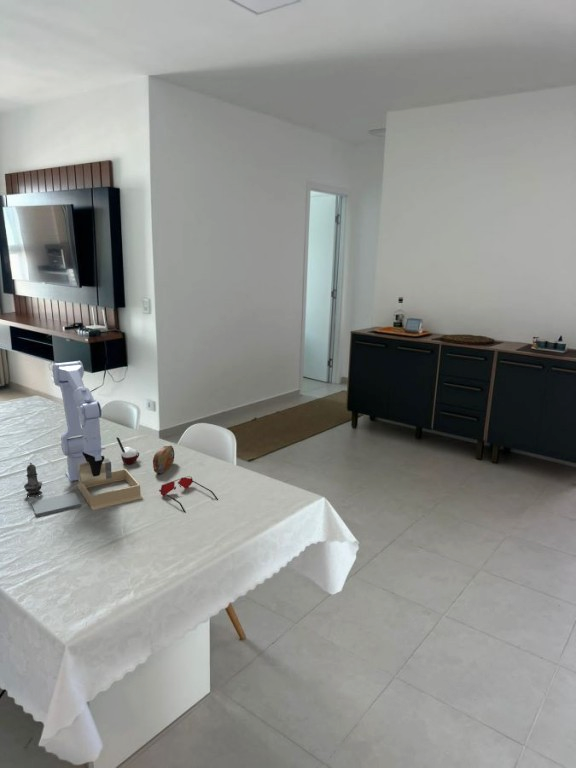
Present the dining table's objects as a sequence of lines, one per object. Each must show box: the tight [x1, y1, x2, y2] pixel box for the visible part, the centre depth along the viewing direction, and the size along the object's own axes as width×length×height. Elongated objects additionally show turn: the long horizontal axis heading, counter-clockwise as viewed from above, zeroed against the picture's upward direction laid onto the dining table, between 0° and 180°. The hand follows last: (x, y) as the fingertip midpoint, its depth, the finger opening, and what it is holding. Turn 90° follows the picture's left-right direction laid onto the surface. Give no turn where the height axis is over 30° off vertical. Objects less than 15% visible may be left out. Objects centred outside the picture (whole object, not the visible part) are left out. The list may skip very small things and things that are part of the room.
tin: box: [152, 445, 175, 474], centre depth 209 cm, size 15×3×8 cm, turn 168°
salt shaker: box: [23, 462, 43, 498], centre depth 185 cm, size 6×6×12 cm
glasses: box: [158, 475, 219, 514], centre depth 185 cm, size 14×16×5 cm
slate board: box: [30, 492, 82, 517], centre depth 179 cm, size 10×14×1 cm
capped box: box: [78, 457, 113, 484], centre depth 184 cm, size 4×10×6 cm, turn 124°
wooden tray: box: [77, 468, 144, 511], centre depth 189 cm, size 22×17×4 cm
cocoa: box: [116, 437, 140, 466], centre depth 214 cm, size 10×6×12 cm, turn 117°
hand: (94, 473), depth 184 cm, fingers closed on capped box, 4 cm apart
